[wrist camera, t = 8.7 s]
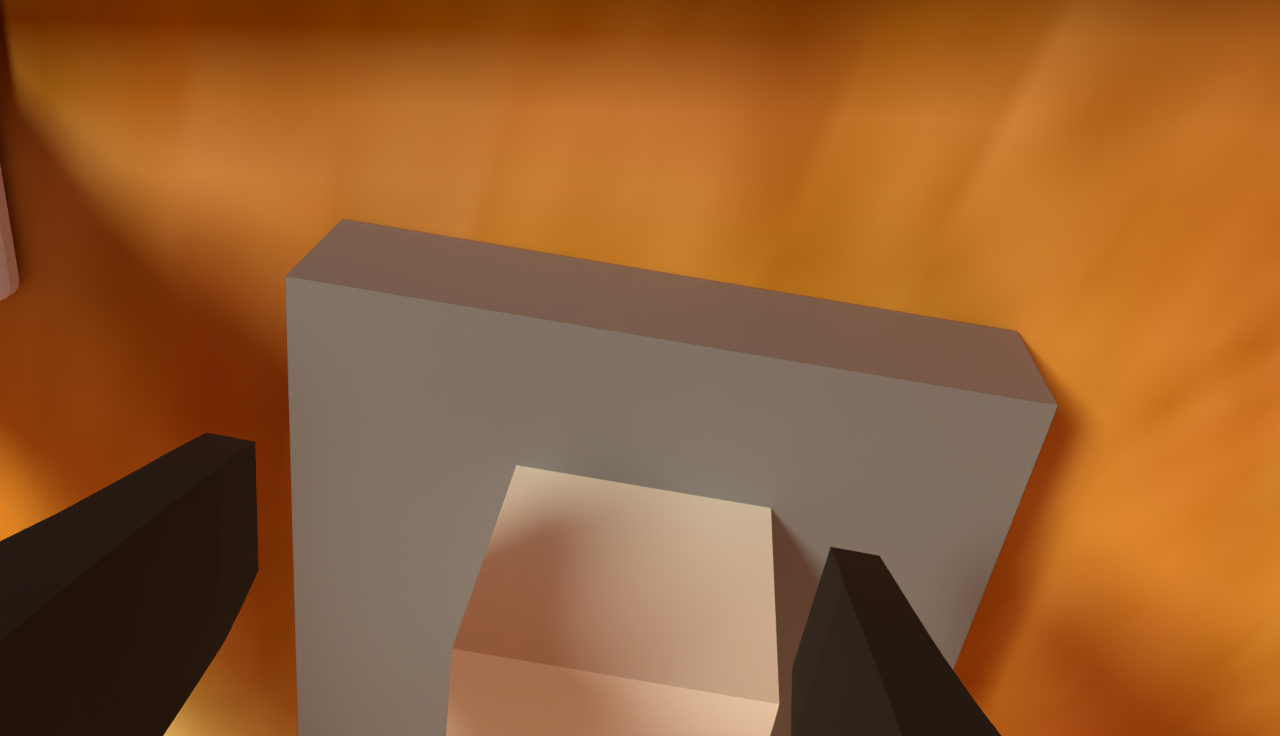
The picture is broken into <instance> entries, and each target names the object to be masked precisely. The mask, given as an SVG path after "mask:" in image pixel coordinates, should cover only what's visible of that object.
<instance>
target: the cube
mask: <svg viewBox="0 0 1280 736" xmlns="http://www.w3.org/2000/svg"><path fill="white" fill-rule="evenodd" d="M778 707H779V684H778V661H777V638H776V614H775V591H774V568H773V545H772V522H771V508H768V507H762V506H756V505H750V504H744V503H738V502H732V501H726V500H720V499H714V498H708V497H702V496H696V495H690V494H684V493H679V492H673V491H667V490H661V489H655V488H649V487H643V486H637V485H631V484H625V483H619V482H613V481H607V480H601V479H595V478H590V477H584V476H578V475H572V474H566V473H560V472H554V471H548V470H542V469H536V468H530V467H524V466H518V465H516V468H515V471H514V474H513V477H512V479H511V482H510V485H509V488H508V491H507V494H506V496H505V499H504V502H503V505H502V508H501V511H500V514H499V516H498V519H497V522H496V525H495V528H494V531H493V534H492V536H491V539H490V542H489V545H488V548H487V551H486V554H485V556H484V559H483V562H482V565H481V568H480V571H479V574H478V576H477V579H476V582H475V585H474V588H473V591H472V594H471V596H470V599H469V602H468V605H467V608H466V611H465V614H464V616H463V619H462V622H461V625H460V628H459V631H458V634H457V636H456V639H455V642H454V645H453V648H452V659H451V673H450V687H449V701H448V715H447V729H446V736H770V735H771V731H772V728H773V725H774V721H775V718H776V714H777V711H778Z"/></svg>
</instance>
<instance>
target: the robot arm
mask: <svg viewBox="0 0 1280 736" xmlns="http://www.w3.org/2000/svg"><path fill="white" fill-rule="evenodd" d="M18 287H19V275H18V269H17V263H16V257H15V251H14V245H13V239H12V233H11V227H10V220H9V214H8V208H7V202H6V196H5V190H4V184H3V178H2V172H1V166H0V301H1V300H3V299H5V298H7V297H8V296H10V295H11V294H13V293H14V292H15V291H16V290H17V288H18ZM257 572H258V536H257V498H256V461H255V442H254V441H248V440H243V439H237V438H232V437H226V436H221V435H215V434H210V433H205V434H203V435H201V436H199V437H197V438H195V439H193V440H191V441H189V442H187V443H186V444H184V445H182V446H180V447H178V448H176V449H174V450H173V451H171V452H169V453H167V454H165V455H163V456H162V457H160V458H158V459H156V460H154V461H153V462H151V463H149V464H147V465H145V466H144V467H142V468H140V469H138V470H136V471H135V472H133V473H131V474H129V475H127V476H126V477H124V478H122V479H120V480H118V481H117V482H115V483H113V484H111V485H109V486H107V487H105V488H104V489H102V490H100V491H98V492H96V493H94V494H93V495H91V496H89V497H87V498H85V499H83V500H81V501H80V502H78V503H76V504H74V505H72V506H70V507H68V508H67V509H65V510H63V511H61V512H59V513H57V514H55V515H53V516H51V517H49V518H47V519H45V520H43V521H41V522H39V523H37V524H35V525H33V526H31V527H29V528H27V529H24V530H22V531H20V532H18V533H16V534H14V535H12V536H10V537H8V538H6V539H4V540H2V541H0V736H163V735H164V734H165V732H166V731H167V729H168V727H169V726H170V724H171V723H172V721H173V720H174V718H175V717H176V715H177V714H178V712H179V711H180V709H181V708H182V706H183V705H184V703H185V702H186V700H187V699H188V697H189V696H190V694H191V693H192V691H193V689H194V688H195V686H196V685H197V683H198V682H199V680H200V679H201V677H202V676H203V674H204V672H205V671H206V669H207V668H208V666H209V665H210V663H211V662H212V660H213V659H214V657H215V655H216V654H217V652H218V651H219V649H220V648H221V646H222V644H223V643H224V641H225V639H226V637H227V635H228V633H229V631H230V629H231V627H232V625H233V623H234V621H235V619H236V617H237V615H238V613H239V611H240V609H241V607H242V605H243V603H244V600H245V598H246V596H247V594H248V592H249V590H250V587H251V585H252V583H253V581H254V579H255V577H256V574H257ZM791 736H1001V735H1000V733H999V732H998V731H997V730H996V728H995V727H994V726H993V724H992V723H991V722H990V721H989V719H988V718H987V717H986V715H985V714H984V713H983V712H982V710H981V709H980V708H979V706H978V705H977V703H976V702H975V701H974V699H973V698H972V697H971V695H970V694H969V692H968V691H967V689H966V688H965V687H964V685H963V684H962V682H961V681H960V679H959V678H958V676H957V675H956V673H955V672H954V671H953V669H952V668H951V666H950V665H949V663H948V662H947V660H946V659H945V658H944V656H943V655H942V653H941V652H940V650H939V648H938V647H937V645H936V644H935V642H934V641H933V639H932V638H931V636H930V635H929V633H928V632H927V630H926V628H925V627H924V625H923V624H922V622H921V621H920V619H919V617H918V616H917V614H916V613H915V611H914V610H913V608H912V606H911V605H910V603H909V602H908V600H907V598H906V597H905V595H904V594H903V592H902V590H901V589H900V587H899V585H898V584H897V582H896V581H895V579H894V577H893V576H892V574H891V573H890V571H889V570H888V568H887V567H886V565H885V563H884V562H883V560H882V559H881V557H880V556H879V555H873V554H868V553H862V552H857V551H852V550H846V549H841V548H835V547H830V550H829V553H828V556H827V560H826V563H825V566H824V569H823V572H822V575H821V578H820V582H819V585H818V588H817V591H816V594H815V597H814V600H813V604H812V607H811V610H810V613H809V616H808V619H807V622H806V626H805V629H804V632H803V635H802V638H801V641H800V644H799V648H798V651H797V654H796V657H795V660H794V663H793V667H792V695H791Z"/></svg>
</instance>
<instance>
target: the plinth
mask: <svg viewBox="0 0 1280 736" xmlns="http://www.w3.org/2000/svg"><path fill="white" fill-rule="evenodd" d="M285 285H286V321H287V356H288V392H289V427H290V463H291V499H292V534H293V570H294V605H295V641H296V676H297V712H298V736H446V729H447V715H448V701H449V687H450V673H451V659H452V648H453V645H454V642H455V639H456V636H457V634H458V631H459V628H460V625H461V622H462V619H463V616H464V614H465V611H466V608H467V605H468V602H469V599H470V596H471V594H472V591H473V588H474V585H475V582H476V579H477V576H478V574H479V571H480V568H481V565H482V562H483V559H484V556H485V554H486V551H487V548H488V545H489V542H490V539H491V536H492V534H493V531H494V528H495V525H496V522H497V519H498V516H499V514H500V511H501V508H502V505H503V502H504V499H505V496H506V494H507V491H508V488H509V485H510V482H511V479H512V477H513V474H514V471H515V468H516V465H518V466H524V467H530V468H536V469H542V470H548V471H554V472H560V473H566V474H572V475H578V476H584V477H590V478H595V479H601V480H607V481H613V482H619V483H625V484H631V485H637V486H643V487H649V488H655V489H661V490H667V491H673V492H679V493H684V494H690V495H696V496H702V497H708V498H714V499H720V500H726V501H732V502H738V503H744V504H750V505H756V506H762V507H768V508H771V522H772V545H773V568H774V591H775V614H776V638H777V661H778V684H779V707H778V711H777V714H776V718H775V721H774V725H773V728H772V731H771V735H770V736H791V695H792V667H793V663H794V660H795V657H796V654H797V651H798V648H799V644H800V641H801V638H802V635H803V632H804V629H805V626H806V622H807V619H808V616H809V613H810V610H811V607H812V604H813V600H814V597H815V594H816V591H817V588H818V585H819V582H820V578H821V575H822V572H823V569H824V566H825V563H826V560H827V556H828V553H829V550H830V547H835V548H841V549H846V550H852V551H857V552H862V553H868V554H873V555H879V556H880V557H881V559H882V560H883V562H884V563H885V565H886V567H887V568H888V570H889V571H890V573H891V574H892V576H893V577H894V579H895V581H896V582H897V584H898V585H899V587H900V589H901V590H902V592H903V594H904V595H905V597H906V598H907V600H908V602H909V603H910V605H911V606H912V608H913V610H914V611H915V613H916V614H917V616H918V617H919V619H920V621H921V622H922V624H923V625H924V627H925V628H926V630H927V632H928V633H929V635H930V636H931V638H932V639H933V641H934V642H935V644H936V645H937V647H938V648H939V650H940V652H941V653H942V655H943V656H944V658H945V659H946V660H947V662H948V663H949V665H950V666H951V668H952V669H954V667H955V664H956V662H957V659H958V657H959V654H960V652H961V649H962V647H963V644H964V642H965V639H966V636H967V634H968V631H969V629H970V626H971V624H972V621H973V619H974V616H975V614H976V611H977V609H978V606H979V604H980V601H981V599H982V596H983V594H984V591H985V589H986V586H987V584H988V581H989V578H990V576H991V573H992V571H993V568H994V566H995V563H996V561H997V558H998V556H999V553H1000V551H1001V548H1002V546H1003V543H1004V541H1005V538H1006V536H1007V533H1008V531H1009V528H1010V526H1011V523H1012V520H1013V518H1014V515H1015V513H1016V510H1017V508H1018V505H1019V503H1020V500H1021V498H1022V495H1023V493H1024V490H1025V488H1026V485H1027V483H1028V480H1029V478H1030V475H1031V473H1032V470H1033V468H1034V465H1035V462H1036V460H1037V457H1038V455H1039V452H1040V450H1041V447H1042V445H1043V442H1044V440H1045V437H1046V435H1047V432H1048V430H1049V427H1050V425H1051V422H1052V420H1053V417H1054V415H1055V412H1056V410H1057V407H1058V405H1057V403H1056V401H1055V399H1054V397H1053V395H1052V394H1051V392H1050V390H1049V388H1048V386H1047V384H1046V383H1045V381H1044V379H1043V377H1042V375H1041V373H1040V372H1039V370H1038V368H1037V366H1036V364H1035V362H1034V360H1033V359H1032V357H1031V355H1030V353H1029V351H1028V349H1027V348H1026V346H1025V344H1024V342H1023V340H1022V338H1021V337H1020V335H1019V333H1018V332H1016V331H1010V330H1004V329H998V328H992V327H986V326H980V325H974V324H968V323H963V322H957V321H951V320H945V319H939V318H933V317H927V316H921V315H915V314H909V313H903V312H897V311H891V310H885V309H879V308H873V307H867V306H861V305H855V304H849V303H843V302H837V301H831V300H825V299H819V298H813V297H807V296H801V295H795V294H789V293H783V292H777V291H771V290H765V289H759V288H753V287H747V286H741V285H735V284H729V283H723V282H717V281H711V280H705V279H699V278H693V277H687V276H681V275H675V274H669V273H663V272H657V271H651V270H645V269H639V268H633V267H627V266H621V265H615V264H609V263H603V262H597V261H591V260H585V259H579V258H573V257H567V256H561V255H555V254H549V253H543V252H537V251H531V250H525V249H519V248H513V247H507V246H501V245H495V244H489V243H483V242H477V241H471V240H465V239H459V238H453V237H447V236H441V235H435V234H429V233H423V232H417V231H411V230H405V229H399V228H393V227H387V226H381V225H375V224H369V223H363V222H357V221H351V220H345V219H342V220H341V221H340V222H339V223H338V224H337V225H336V226H335V227H334V228H333V229H332V230H331V231H330V232H329V233H328V234H327V235H326V236H325V237H324V238H323V239H322V240H321V241H320V242H319V243H318V244H317V245H316V246H315V247H314V248H313V249H312V250H311V251H310V252H309V253H308V254H307V255H306V256H305V257H304V258H303V259H302V260H301V261H300V262H299V263H298V264H297V265H296V266H295V267H294V268H293V269H292V270H291V271H290V272H289V273H288V274H287V275H286V276H285Z"/></svg>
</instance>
